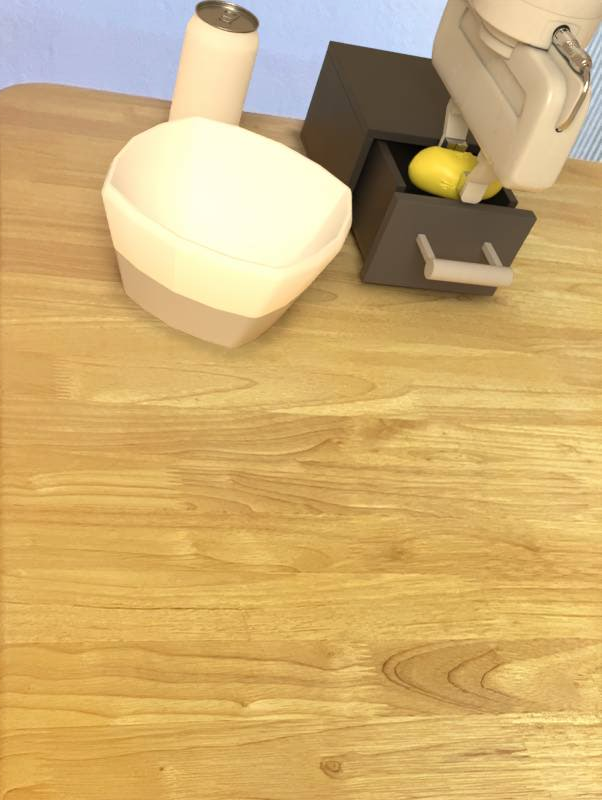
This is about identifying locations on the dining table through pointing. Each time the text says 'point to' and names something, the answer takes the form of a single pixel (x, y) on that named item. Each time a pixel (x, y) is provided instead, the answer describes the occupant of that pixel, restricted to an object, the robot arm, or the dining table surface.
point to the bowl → (220, 226)
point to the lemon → (444, 172)
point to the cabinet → (372, 107)
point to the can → (216, 62)
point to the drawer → (432, 229)
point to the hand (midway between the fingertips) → (456, 178)
